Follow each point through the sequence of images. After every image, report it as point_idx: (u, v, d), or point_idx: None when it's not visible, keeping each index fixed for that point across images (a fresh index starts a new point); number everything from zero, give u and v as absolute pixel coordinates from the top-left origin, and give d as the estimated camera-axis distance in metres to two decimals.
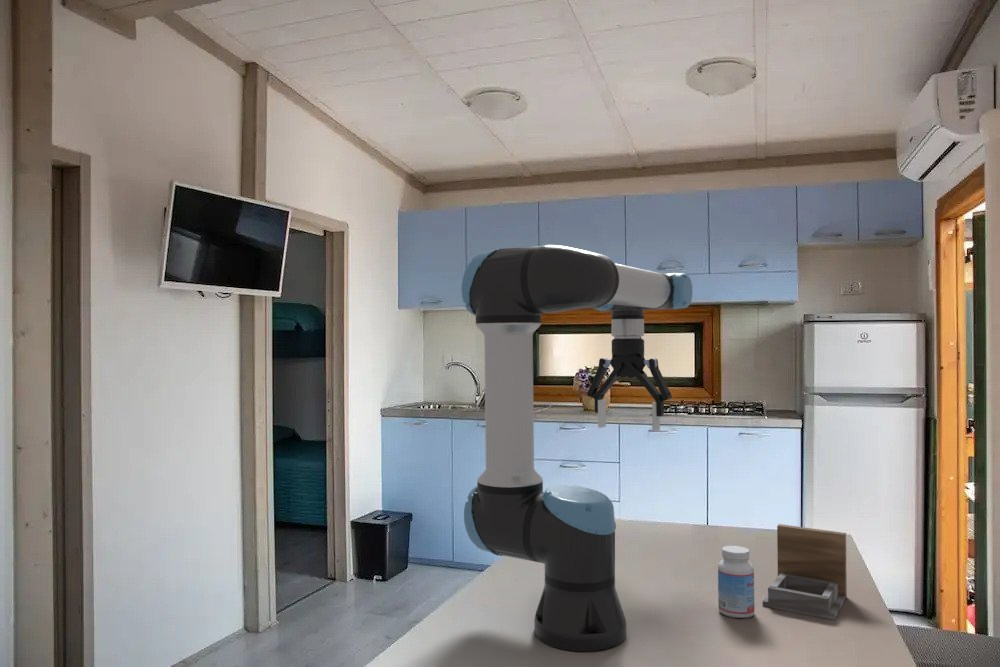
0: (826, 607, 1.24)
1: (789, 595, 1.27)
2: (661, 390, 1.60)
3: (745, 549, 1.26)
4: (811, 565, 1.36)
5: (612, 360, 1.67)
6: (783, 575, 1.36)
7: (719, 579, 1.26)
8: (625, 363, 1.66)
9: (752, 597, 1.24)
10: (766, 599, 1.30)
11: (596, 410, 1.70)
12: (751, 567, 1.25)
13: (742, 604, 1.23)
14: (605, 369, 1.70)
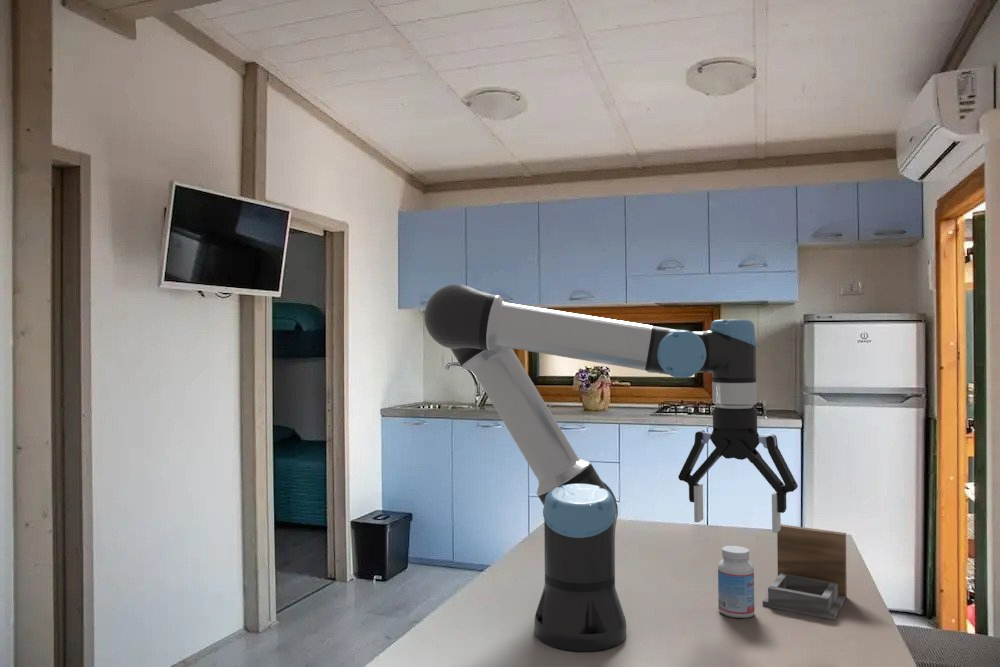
0: (826, 607, 1.24)
1: (789, 595, 1.27)
2: (784, 478, 1.21)
3: (745, 549, 1.26)
4: (811, 565, 1.36)
5: (713, 435, 1.28)
6: (783, 575, 1.36)
7: (719, 579, 1.26)
8: (732, 440, 1.26)
9: (752, 597, 1.24)
10: (766, 599, 1.30)
11: (691, 498, 1.30)
12: (751, 567, 1.25)
13: (742, 604, 1.23)
14: (702, 445, 1.30)
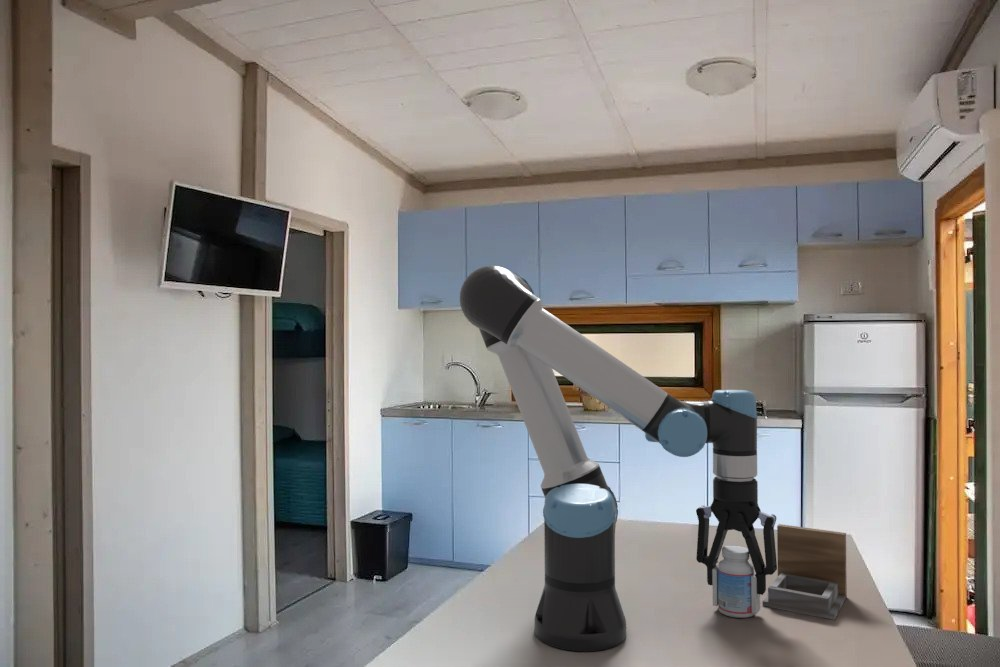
0: (826, 607, 1.24)
1: (789, 595, 1.27)
2: (768, 560, 1.22)
3: (745, 549, 1.26)
4: (811, 565, 1.36)
5: (713, 506, 1.28)
6: (783, 575, 1.36)
7: (719, 579, 1.26)
8: (732, 511, 1.26)
9: None
10: (766, 599, 1.30)
11: (709, 581, 1.28)
12: (751, 567, 1.25)
13: (742, 603, 1.23)
14: (707, 520, 1.30)
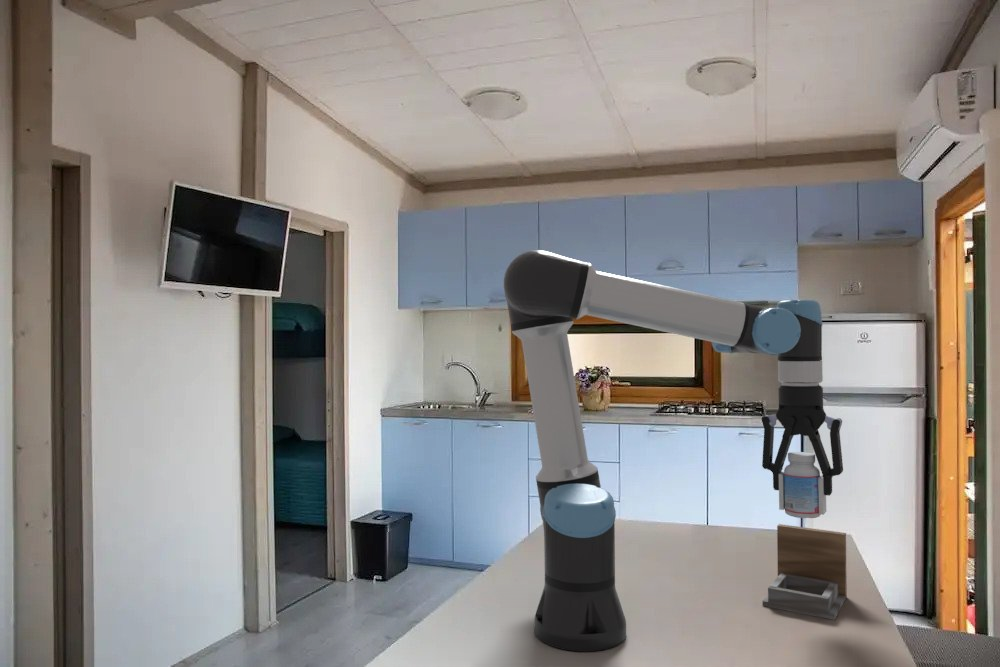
0: (826, 607, 1.24)
1: (789, 595, 1.27)
2: (835, 461, 1.26)
3: (811, 453, 1.30)
4: (811, 565, 1.36)
5: (778, 413, 1.32)
6: (783, 575, 1.36)
7: (786, 482, 1.30)
8: (798, 417, 1.30)
9: None
10: (766, 599, 1.30)
11: (775, 486, 1.32)
12: (817, 470, 1.29)
13: (809, 504, 1.27)
14: (772, 428, 1.34)
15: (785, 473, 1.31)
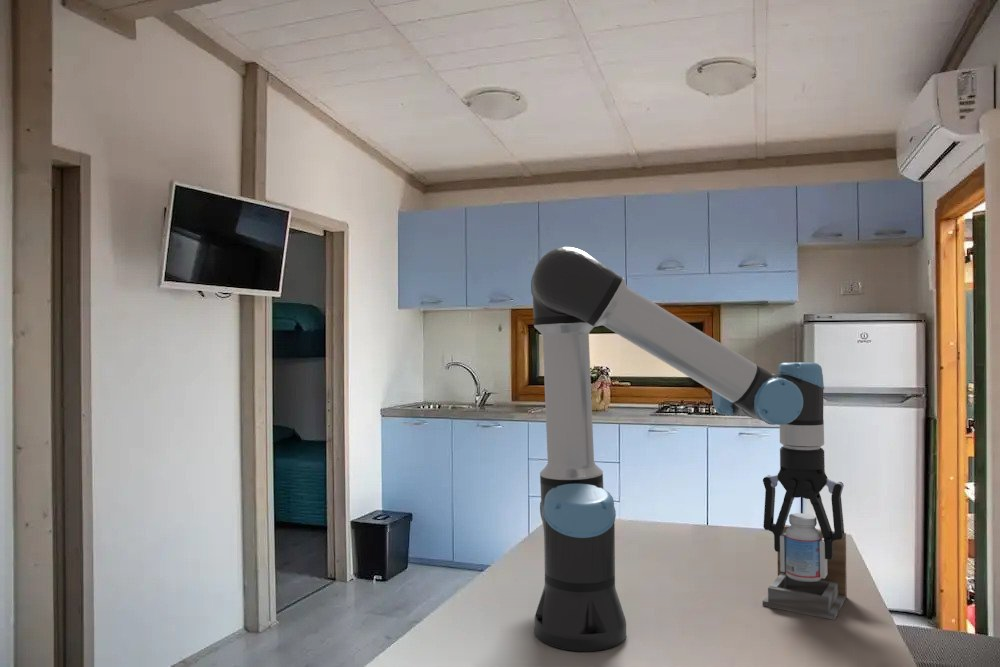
0: (826, 607, 1.24)
1: (789, 595, 1.27)
2: (836, 526, 1.26)
3: (812, 516, 1.30)
4: None
5: (780, 475, 1.32)
6: (783, 575, 1.36)
7: (787, 545, 1.30)
8: (800, 480, 1.30)
9: None
10: (766, 599, 1.30)
11: (776, 548, 1.32)
12: (819, 533, 1.29)
13: (810, 568, 1.27)
14: (774, 489, 1.34)
15: (786, 535, 1.31)
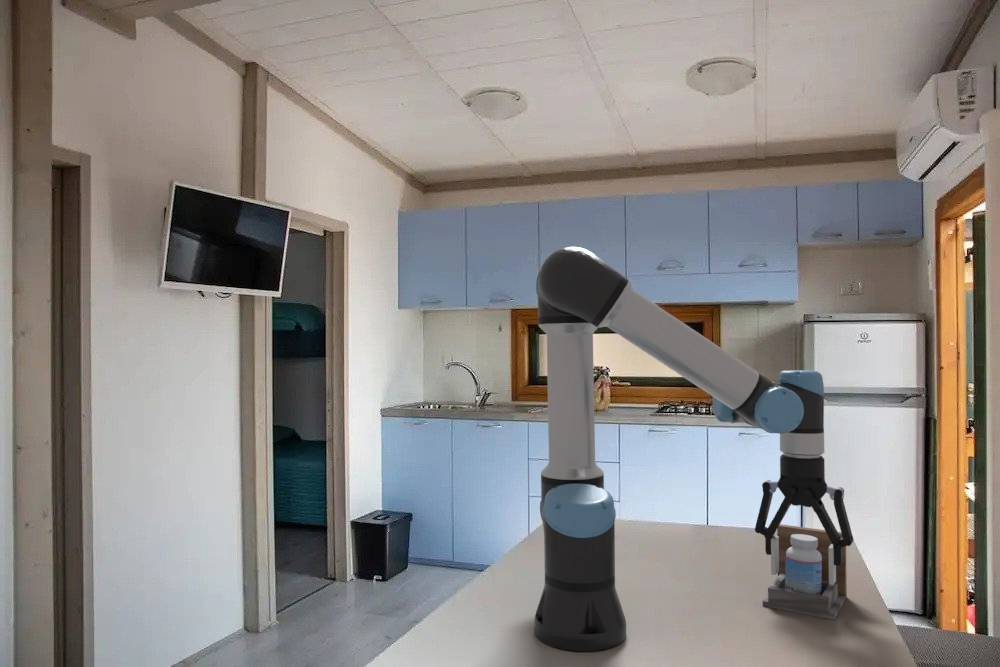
0: (826, 607, 1.24)
1: (789, 595, 1.27)
2: (844, 532, 1.26)
3: (813, 537, 1.30)
4: None
5: (780, 482, 1.32)
6: (783, 575, 1.36)
7: (787, 566, 1.30)
8: (800, 488, 1.30)
9: (820, 584, 1.28)
10: (766, 599, 1.30)
11: (767, 551, 1.33)
12: (820, 555, 1.29)
13: (810, 590, 1.27)
14: (771, 495, 1.34)
15: (787, 556, 1.31)
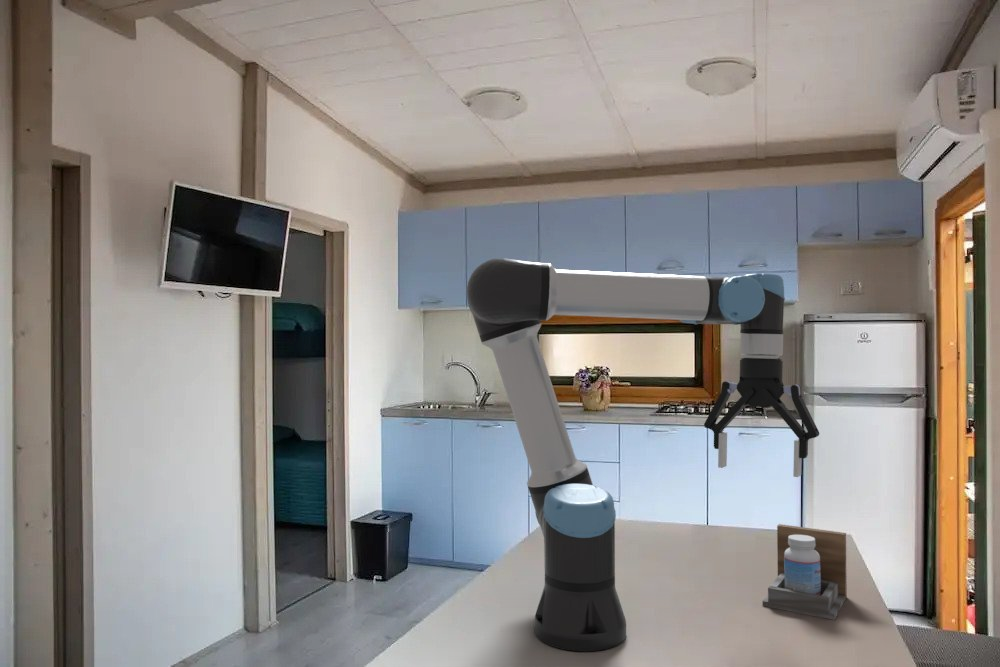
0: (826, 607, 1.24)
1: (789, 595, 1.27)
2: (807, 425, 1.27)
3: (811, 537, 1.30)
4: None
5: (740, 384, 1.34)
6: (783, 575, 1.36)
7: (786, 567, 1.30)
8: (758, 389, 1.32)
9: (819, 584, 1.28)
10: (766, 599, 1.30)
11: (715, 445, 1.37)
12: (818, 555, 1.29)
13: (809, 590, 1.27)
14: (728, 395, 1.37)
15: (785, 557, 1.31)
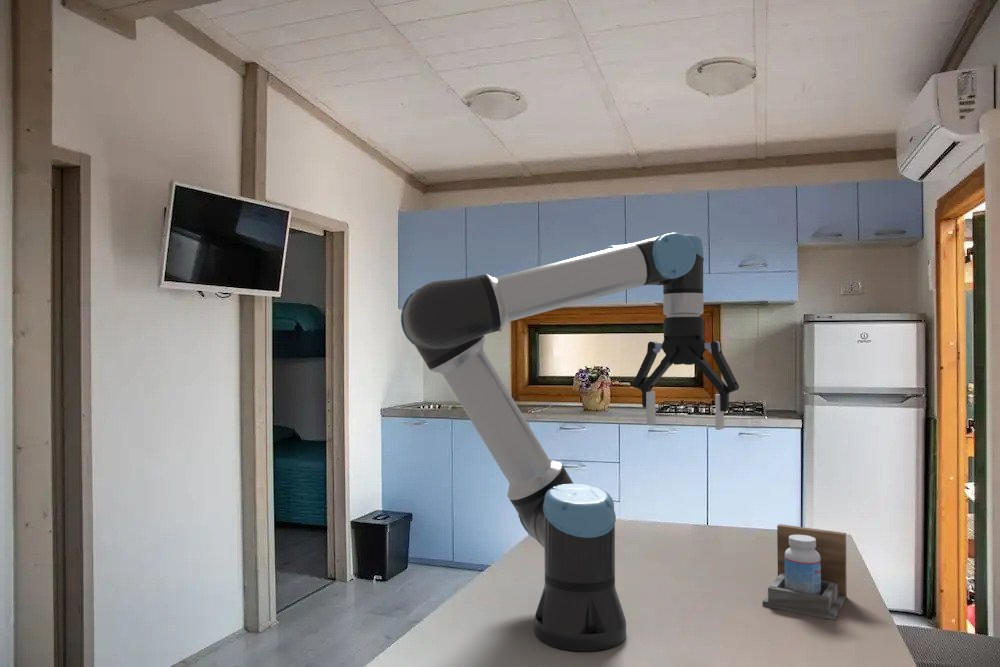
0: (826, 607, 1.24)
1: (789, 595, 1.27)
2: (727, 379, 1.31)
3: (812, 538, 1.30)
4: None
5: (664, 344, 1.38)
6: (783, 575, 1.36)
7: (786, 567, 1.30)
8: (681, 347, 1.36)
9: (819, 584, 1.28)
10: (766, 599, 1.30)
11: (644, 404, 1.41)
12: (818, 555, 1.29)
13: (809, 590, 1.27)
14: (655, 355, 1.41)
15: (786, 557, 1.31)
